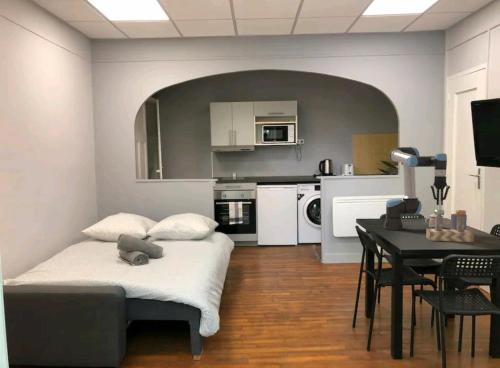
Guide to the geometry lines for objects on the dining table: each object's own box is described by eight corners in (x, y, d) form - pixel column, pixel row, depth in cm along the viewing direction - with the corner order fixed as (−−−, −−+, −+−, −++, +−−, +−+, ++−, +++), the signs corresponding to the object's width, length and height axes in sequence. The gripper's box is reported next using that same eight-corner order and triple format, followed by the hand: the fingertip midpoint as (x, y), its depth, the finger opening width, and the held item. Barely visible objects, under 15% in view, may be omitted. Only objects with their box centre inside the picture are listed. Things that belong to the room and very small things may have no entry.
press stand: (429, 240, 297) (430, 217, 295) (426, 237, 308) (426, 214, 307) (473, 242, 291) (474, 218, 290) (468, 238, 302) (469, 215, 301)
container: (467, 236, 308) (468, 216, 307) (451, 236, 312) (452, 215, 310) (464, 234, 318) (465, 214, 317) (449, 233, 321) (450, 213, 320)
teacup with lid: (439, 226, 352) (440, 212, 351) (442, 228, 343) (443, 213, 342) (424, 225, 354) (424, 211, 353) (426, 227, 345) (427, 213, 344)
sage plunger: (435, 230, 298) (435, 210, 297) (433, 229, 304) (433, 209, 303) (444, 231, 297) (445, 210, 296) (442, 229, 303) (443, 209, 302)
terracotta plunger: (456, 231, 295) (457, 211, 294) (454, 230, 301) (455, 209, 300) (466, 231, 294) (467, 211, 293) (464, 230, 300) (464, 210, 299)
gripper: (431, 176, 295) (430, 210, 297) (451, 176, 293) (450, 210, 294) (429, 175, 303) (428, 208, 304) (449, 175, 300) (448, 209, 302)
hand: (439, 209), depth 299 cm, fingers closed
